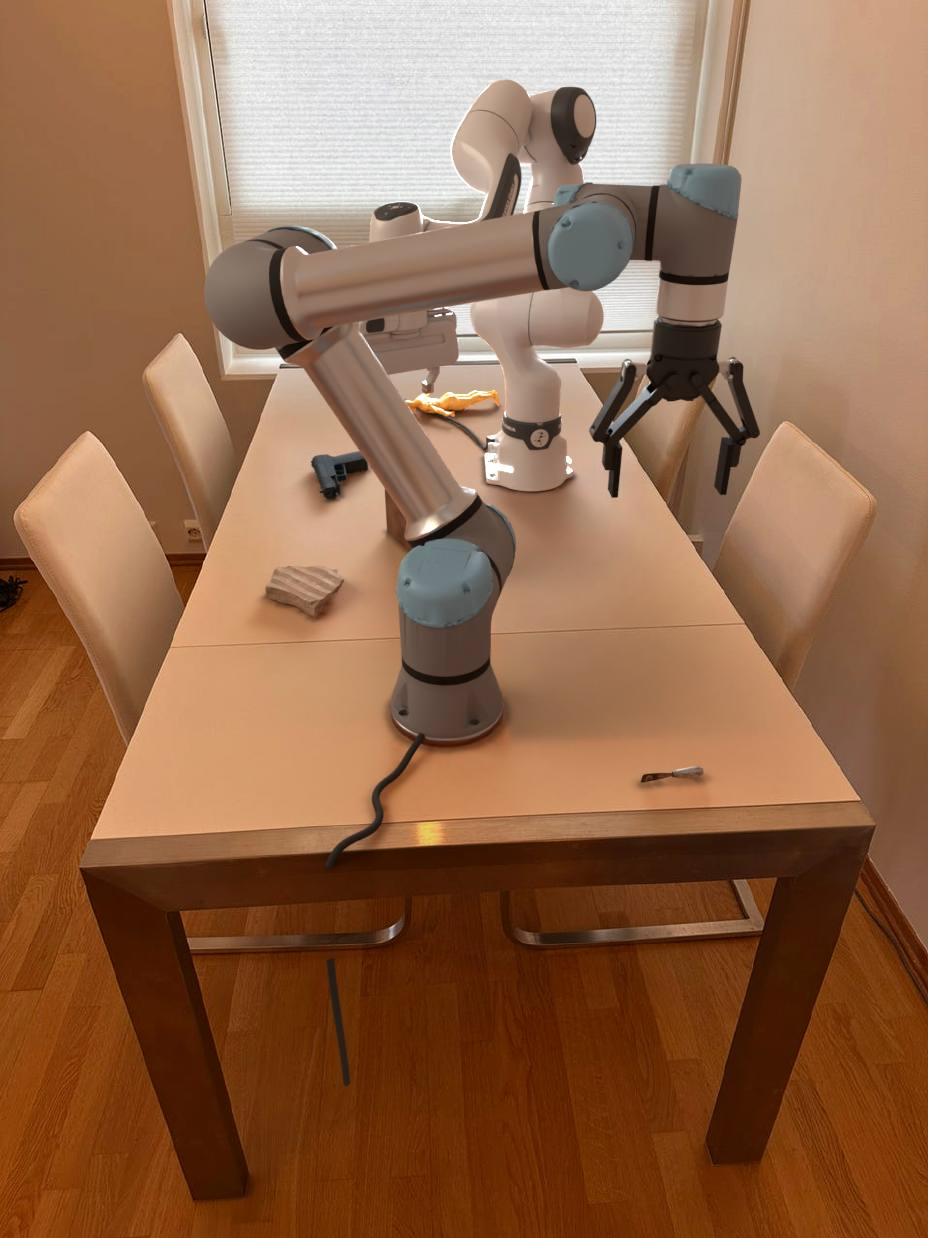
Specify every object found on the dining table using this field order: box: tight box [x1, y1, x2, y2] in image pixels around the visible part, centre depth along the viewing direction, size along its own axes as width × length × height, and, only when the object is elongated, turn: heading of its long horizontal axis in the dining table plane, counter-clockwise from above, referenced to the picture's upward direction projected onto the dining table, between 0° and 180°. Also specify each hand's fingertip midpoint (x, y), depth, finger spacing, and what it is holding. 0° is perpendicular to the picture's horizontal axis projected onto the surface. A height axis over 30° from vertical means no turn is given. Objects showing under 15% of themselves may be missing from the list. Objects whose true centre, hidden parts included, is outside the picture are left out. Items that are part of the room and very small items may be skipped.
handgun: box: [310, 450, 369, 500], centre depth 187 cm, size 3×17×12 cm
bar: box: [384, 488, 412, 552], centre depth 158 cm, size 24×5×9 cm, turn 30°
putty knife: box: [640, 765, 705, 784], centre depth 109 cm, size 1×8×2 cm, turn 103°
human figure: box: [405, 389, 500, 418], centre depth 225 cm, size 20×20×4 cm
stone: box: [264, 565, 345, 618], centre depth 147 cm, size 13×12×3 cm
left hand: (666, 492), depth 112 cm, fingers open, 13 cm apart
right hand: (403, 397), depth 152 cm, fingers open, 8 cm apart
